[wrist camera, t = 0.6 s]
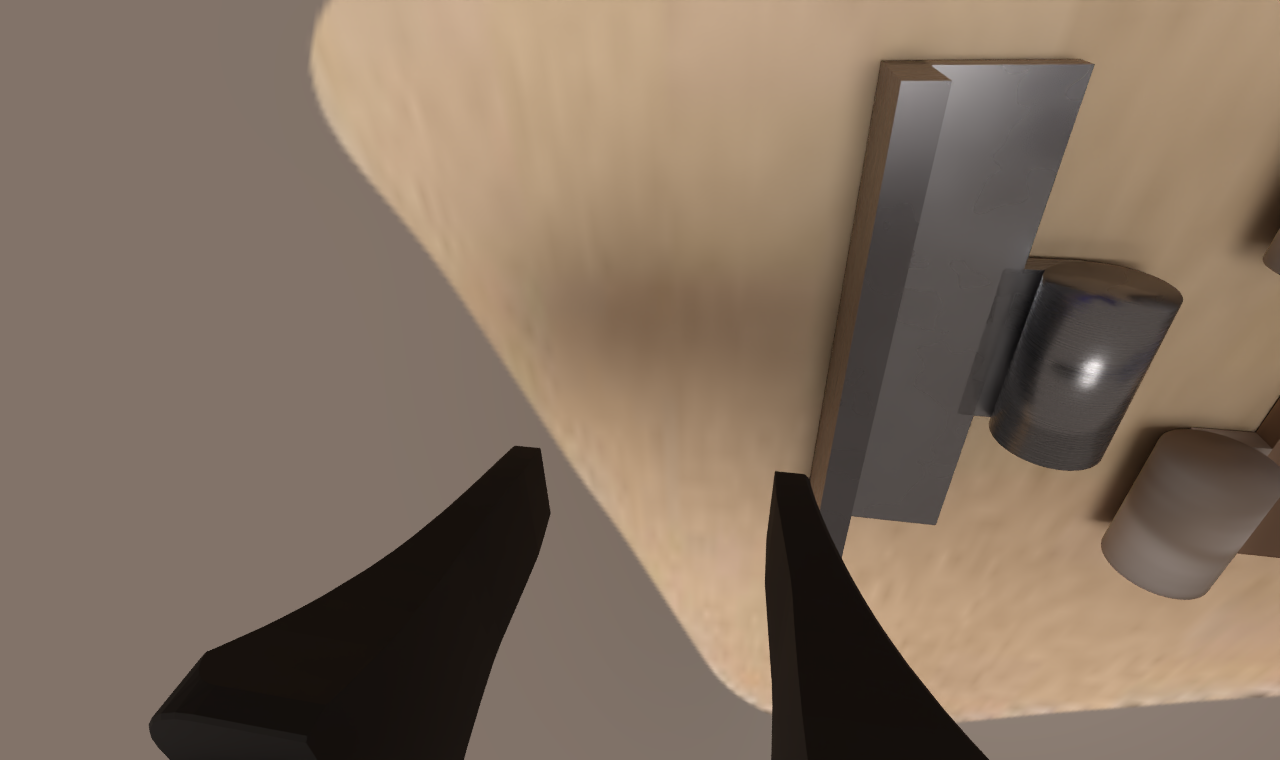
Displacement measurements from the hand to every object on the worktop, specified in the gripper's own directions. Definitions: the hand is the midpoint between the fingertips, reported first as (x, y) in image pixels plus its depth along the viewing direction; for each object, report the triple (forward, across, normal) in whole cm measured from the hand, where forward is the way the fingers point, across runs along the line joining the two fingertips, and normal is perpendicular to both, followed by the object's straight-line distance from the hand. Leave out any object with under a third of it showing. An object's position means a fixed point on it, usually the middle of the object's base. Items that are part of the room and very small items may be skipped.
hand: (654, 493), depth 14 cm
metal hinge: (+8, -8, 0) cm, 12 cm away
